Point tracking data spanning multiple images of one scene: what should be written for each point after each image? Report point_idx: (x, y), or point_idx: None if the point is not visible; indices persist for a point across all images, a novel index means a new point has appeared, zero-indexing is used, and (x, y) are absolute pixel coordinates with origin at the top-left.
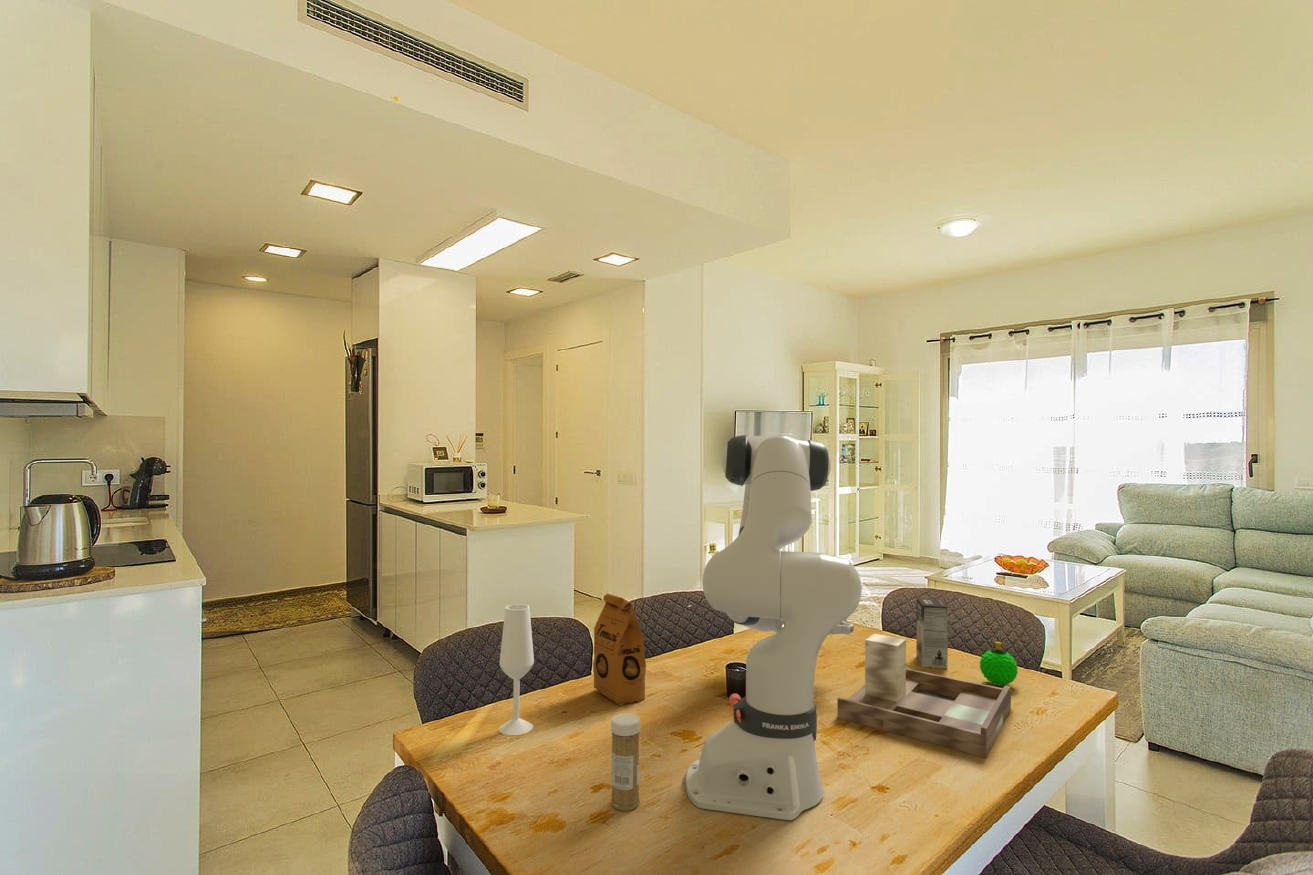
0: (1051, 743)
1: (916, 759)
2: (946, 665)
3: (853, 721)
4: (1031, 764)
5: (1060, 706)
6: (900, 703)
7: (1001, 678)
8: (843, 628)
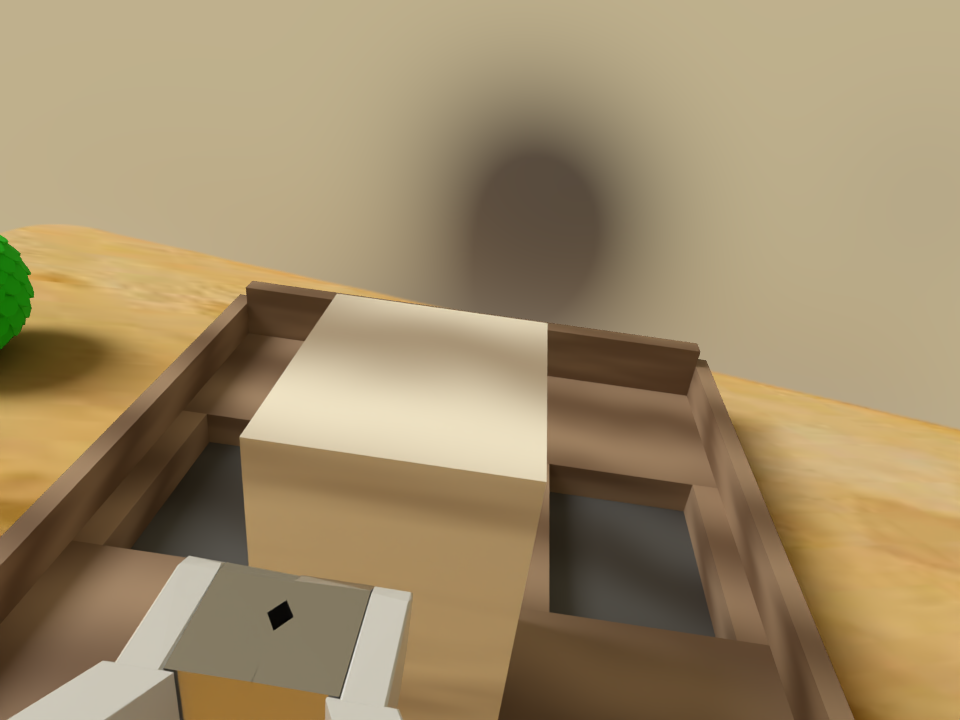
0: None
1: (895, 552)
2: None
3: None
4: None
5: (178, 283)
6: None
7: (28, 314)
8: (391, 705)
